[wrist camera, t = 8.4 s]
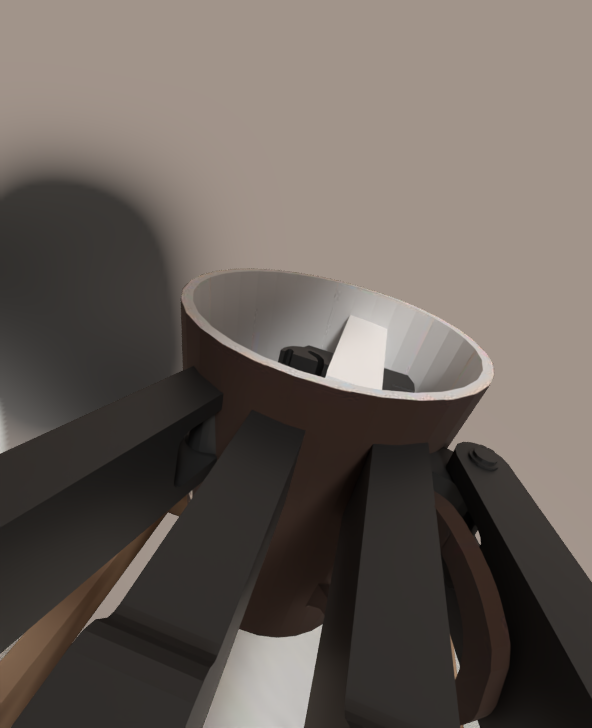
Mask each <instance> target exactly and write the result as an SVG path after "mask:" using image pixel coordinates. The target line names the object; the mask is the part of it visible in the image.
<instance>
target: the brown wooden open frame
mask: <svg viewBox="0 0 592 728" xmlns="http://www.w3.org/2000/svg"><path fill="white" fill-rule="evenodd" d="M186 506H187V495H186V496H185V497H184V498H183V499H181V500H180V501H179V502H178V503H177V504H175V505H174V506H173V507H172V508H171V509H170V510H168V511H167V512H166V513H165V514H164V515H163V516H161V517H160V518H159V519H158V520H157V521H156V522H154V523H153V524H152V525H151V526H150V527H148V528H147V529H146V530H145V531H144V532H143V533H141V534H140V535H139V536H138V537H137V538H136V539H134V540H133V541H132V542H131V543H130V544H128V545H127V546H126V547H125V548H124V549H123V550H121V551H120V552H119V553H118V554H117V555H116V556H114V557H113V558H112V559H111V560H110V561H108V562H107V563H106V564H105V565H104V566H103V567H101V568H100V569H99V570H98V571H97V572H96V573H94V574H93V575H92V576H91V577H90V578H88V579H87V580H86V581H85V582H84V583H83V584H81V585H80V586H79V587H78V588H77V589H76V590H74V591H73V592H72V593H71V594H70V595H69V596H67V597H66V598H65V599H64V600H63V601H61V602H60V603H59V604H58V605H57V606H56V607H54V608H53V609H52V610H51V611H50V612H49V613H47V614H46V615H45V616H44V617H43V618H41V619H40V620H39V621H38V622H37V623H36V624H34V625H33V626H32V627H31V628H30V629H29V630H27V631H26V632H25V633H24V635H23V636H22V637H21V638H20V639H19V640H18V642H17V643H16V644H15V645H14V646H13V647H12V649H11V650H10V651H9V652H8V653H7V654H6V656H5V657H4V658H3V659H2V660H1V661H0V728H10V727H11V726H12V725H13V723H14V722H15V721H16V719H17V718H18V716H19V715H20V714H21V712H22V711H23V710H24V708H25V707H26V705H27V704H28V703H29V701H30V700H31V699H32V697H33V696H34V695H35V693H36V692H37V690H38V689H39V688H40V686H41V685H42V684H43V682H44V681H45V679H46V678H47V677H48V675H49V674H50V673H51V671H52V670H53V668H54V667H55V666H56V664H57V663H58V662H59V660H60V659H61V657H62V656H63V655H64V653H65V652H66V651H67V649H68V648H69V647H70V645H71V644H72V643H73V641H74V640H75V638H76V637H77V636H78V634H79V633H80V631H81V630H82V628H84V626H85V625H86V623H87V622H88V620H89V619H90V618H91V617H92V615H93V614H94V613H95V611H96V610H97V608H98V607H99V605H100V604H101V603H102V601H103V600H104V599H105V597H106V596H107V595H108V593H109V592H110V591H111V589H112V588H113V586H114V585H115V584H116V582H117V581H118V580H119V578H120V577H121V575H122V574H123V573H124V571H125V570H126V569H127V567H128V566H129V564H130V563H131V562H132V560H133V559H134V558H135V556H136V555H137V553H138V552H139V551H140V550H141V548H142V547H143V545H144V544H145V543H146V541H147V540H148V539H149V537H150V536H151V535H152V533H153V532H154V530H155V529H156V527H157V526H158V525H159V524H160V522H161V521H162V520H163V518H164V517H165V515H166V514H167V513H168V512H169V513H171V514H174V515H177V516H180V515H181V513H182V512H183V511H184V509H185V508H186ZM450 640H451V649H452V658H453V667H454V676H455V679H456V676H457V670H456V661H455V653H454V646H453V643H452V639H451V636H450ZM460 728H464V727H463V725H461V726H460Z"/></svg>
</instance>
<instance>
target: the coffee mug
mask: <svg viewBox="0 0 592 728" xmlns="http://www.w3.org/2000/svg"><path fill="white" fill-rule="evenodd" d="M350 315H352V316H355V317H358V318H361V319H364V320H366V321H369V322H372V323H374V324H376V325H379V326H381V327H384V328H386V329H387V340H386V351H385V362H384V368H386V369H389V370H393V371H396V372H399V373H402V374H405V375H408V376H409V377H410V379H411V380H412V381H413V383H414V386H415V393H410V392H400V391H389V390H378V389H373V388H367V387H362V386H357V385H352V384H347V383H342V382H337V381H334V380H330V379H327V378H323V377H320V376H316V375H313V374H309V373H306V372H302V371H299V370H296V369H294V368H291V367H289V366H286V365H283V364H281V363H278V359H279V355H280V351H281V349H283V348H284V347H288V346H301V347H305V346H308V345H310V346H313V347H316V348H319V349H322V350H326V351H329V352H332V353H335V350H336V348H337V345H338V343H339V341H340V338H341V336H342V333H343V331H344V328H345V326H346V324H347V321H348V319H349V316H350ZM181 323H182V351H183V352H182V353H183V370H185V369H187V368H189V367H192V366H194V367H195V368H196V369H197V371H198V372H199V373H200V374H201V375H202V376H203V377H204V378H205V379H206V380H208V381H209V382H210V383H211V384H212V385H213V386H215V387H216V388H217V389H218V390H219V391H221V392H222V393H223V403H222V410H220V411H219V412H217V413H216V414H215V440H216V454H215V455H216V456H217V460H218V459H219V458H220V456H221V455H222V453H223V452H224V450H225V449H226V447H227V446H228V444H229V443H230V441H231V440H232V438H233V437H234V435H235V434H236V433H237V431H238V430H239V428H240V427H241V425H242V424H243V422H244V421H245V419H246V418H247V416H248V415H249V413H250V412H251V410H254V411H256V412H258V413H261V414H263V415H265V416H268V417H270V418H272V419H274V420H277V421H279V422H281V423H283V424H286V425H289V426H292V427H296V428H299V429H302V430H305V431H306V432H305V435H304V439H303V442H302V445H301V449H300V452H299V456H298V459H297V463H296V466H295V469H294V473H293V476H292V480H291V483H290V487H289V490H288V493H287V497H286V500H285V504H284V507H283V510H282V512H281V515H280V518H279V520H278V523H277V526H276V529H275V531H274V534H273V537H272V540H271V542H270V545H269V548H268V550H267V553H266V556H265V559H264V561H263V564H262V567H261V570H260V572H259V575H258V578H257V580H256V583H255V586H254V589H253V591H252V594H251V597H250V599H249V602H248V605H247V608H246V610H245V613H244V616H243V619H242V621H241V624H240V627H239V629H241V630H244V631H247V632H250V633H253V634H256V635H260V636H268V637H276V638H277V637H289V636H296V635H299V634H303V633H306V632H309V631H312V630H313V629H315V628H317V627H318V626H320V625H322V624H323V620H324V615H325V609H326V604H327V598H328V593H329V587H330V582H331V576H332V571H333V565H334V560H335V554H336V549H337V543H338V538H339V532H340V527H341V521H342V516H343V513H344V511H345V509H346V506H347V504H348V502H349V500H350V498H351V496H352V494H353V491H354V489H355V486H356V484H357V481H358V479H359V476H360V474H361V471H362V469H363V466H364V464H365V462H366V459H367V457H368V455H369V452H370V450H371V448H372V445H373V444H385V445H406V444H416V443H427V442H428V444H429V453H433V452H436V451H439V450H440V449H442V448H443V447H445V448H448V446H449V445H450V443H451V442H452V440H453V439H454V437H455V436H456V434H457V433H458V431H459V430H460V429H461V427H462V426H463V424H464V423H465V421H466V420H467V418H468V417H469V415H470V414H471V412H472V411H473V409H474V408H475V406H476V405H477V403H478V402H479V400H480V399H481V397H482V396H483V394H484V393H485V392H486V390H487V389H488V387H489V386H490V384H491V382H492V380H493V378H494V375H495V373H494V368H493V363H492V361H491V360H490V358H489V357H488V355H487V354H486V352H485V351H484V350H483V349H482V348H481V347H480V346H479V345H478V344H477V343H476V342H475V341H474V340H472V339H471V338H470V337H468V336H467V335H466V334H464V333H463V332H461V331H460V330H459V329H457V328H456V327H454V326H452V325H451V324H449V323H447V322H446V321H444V320H442V319H440V318H438V317H436V316H434V315H432V314H430V313H428V312H426V311H424V310H422V309H420V308H418V307H415V306H413V305H411V304H408V303H406V302H404V301H401V300H398V299H396V298H393V297H390V296H387V295H385V294H382V293H379V292H375V291H373V290H370V289H366V288H363V287H360V286H356V285H352V284H349V283H345V282H341V281H337V280H333V279H328V278H324V277H319V276H314V275H308V274H302V273H297V272H289V271H280V270H267V269H230V270H221V271H215V272H211V273H206V274H202V275H200V276H198V277H196V278H194V279H192V280H190V281H189V282H188V283H187V284H186V285H185V287H184V288H183V289H182V296H181ZM202 483H203V482H201V483H200V484H199V485H198V486H197V487H195V488H194V489H193V490H192V491H191V492H190V493H188V494H187V505H188V503H189V502H190V500H191V499H192V497H193V496H194V494H195V493H196V491H197V490H198V488H199V487H200V486H201V484H202ZM434 498H435V506H434V507H435V508H436V515H437V524H438V533H439V542H440V551H441V554H442V556H443V558H444V560H445V562H446V564H447V567H448V570H449V573H450V576H451V579H452V582H453V586H454V589H455V593H456V596H457V600H458V605H459V609H460V614H461V619H462V627H463V652H462V658H461V664H460V670H459V672H458V674H457V676H456V679H455V685H456V694H457V703H458V712H459V721H460V726H461V725H464V724H467V723H470V722H473V721H476V720H478V719H481V718H484V717H486V716H488V715H489V714H491V713H492V711H493V710H494V709H495V707H496V706H497V703H498V699H499V696H500V693H501V690H502V687H503V684H504V681H505V678H506V675H507V672H508V669H509V663H510V639H509V633H508V627H507V623H506V620H505V615H504V611H503V607H502V603H501V599H500V596H499V593H498V590H497V587H496V584H495V581H494V579H493V576H492V574H491V571H490V569H489V567H488V565H487V563H486V560H485V558H484V556H483V554H482V552H481V550H480V548H479V546H478V544H477V542H476V540H475V539H474V537H473V535H472V534H471V532H470V530H469V529H468V526H467V525H466V523H465V522H464V520H463V518H462V517H461V516H460V514H459V513H458V512H457V510H456V509H455V508H454V506H453V505H452V504H451V503H450V502H449V501H448V500H446V499H445V498H444V497H443V496H441V495H440V494H438V493H436V492H435V491H434Z"/></svg>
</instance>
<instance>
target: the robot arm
mask: <svg viewBox="0 0 592 728" xmlns="http://www.w3.org/2000/svg"><path fill="white" fill-rule="evenodd" d="M386 340H387V329H386V328H384V327H381V326H379V325H376V324H374V323H372V322H369V321H366V320H364V319H361V318H358V317H355V316H352V315H350V316H349V319H348V321H347V324H346V326H345V328H344V331H343V333H342V336H341V338H340V341H339V343H338V345H337V348H336V350H335V353H332V352H329V351H326V350H322V349H319V348H316V347H313V346H310V345H308V346H305V347H301V346H288V347H284V348H283V349H281V351H280V355H279V359H278V363H281V364H283V365H286V366H289V367H291V368H294V369H296V370H299V371H302V372H306V373H309V374H313V375H316V376H320V377H323V378H327V379H330V380H334V381H337V382H342V383H347V384H352V385H357V386H362V387H367V388H373V389H378V390H389V391H400V392H410V393H415V386H414V383H413V381H412V380H411V379H410V377H409V376H408V375H405V374H402V373H399V372H396V371H393V370H389V369H386V368H384V362H385V351H386ZM222 403H223V393H222V392H221V391H219V390H218V389H217V388H216V387H215V386H213V385H212V384H211V383H210V382H209V381H208V380H206V379H205V378H204V377H203V376H202V375H201V374H200V373H199V372H198V371H197V369H196V368H195V367H194V366H192V367H189V368H187V369H185V370H183V371H181V372H179V373H176V374H174V375H172V376H170V377H168V378H165V379H163V380H161V381H159V382H157V383H154V384H152V385H150V386H148V387H146V388H143V389H141V390H139V391H137V392H135V393H133V394H130V395H128V396H126V397H124V398H122V399H119V400H117V401H115V402H113V403H111V404H108V405H106V406H104V407H102V408H100V409H97V410H95V411H93V412H91V413H89V414H86V415H84V416H82V417H80V418H78V419H76V420H73V421H71V422H69V423H67V424H65V425H62V426H60V427H58V428H56V429H54V430H51V431H49V432H47V433H45V434H43V435H41V436H38V437H36V438H34V439H32V440H30V441H27V442H25V443H23V444H21V445H19V446H16V447H14V448H12V449H10V450H8V451H5V452H3V453H1V454H0V653H1V652H3V651H4V650H5V649H6V648H7V647H9V646H10V645H11V644H12V643H13V642H14V641H16V640H17V639H18V638H19V637H20V636H21V635H23V634H24V633H25V632H26V631H27V630H29V629H30V628H31V627H32V626H33V625H34V624H36V623H37V622H38V621H39V620H40V619H41V618H43V617H44V616H45V615H46V614H47V613H49V612H50V611H51V610H52V609H53V608H54V607H56V606H57V605H58V604H59V603H60V602H61V601H63V600H64V599H65V598H66V597H67V596H69V595H70V594H71V593H72V592H73V591H74V590H76V589H77V588H78V587H79V586H80V585H81V584H83V583H84V582H85V581H86V580H87V579H88V578H90V577H91V576H92V575H93V574H94V573H96V572H97V571H98V570H99V569H100V568H101V567H103V566H104V565H105V564H106V563H107V562H108V561H110V560H111V559H112V558H113V557H114V556H116V555H117V554H118V553H119V552H120V551H121V550H123V549H124V548H125V547H126V546H127V545H128V544H130V543H131V542H132V541H133V540H134V539H136V538H137V537H138V536H139V535H140V534H141V533H143V532H144V531H145V530H146V529H147V528H148V527H150V526H151V525H152V524H153V523H154V522H156V521H157V520H158V519H159V518H160V517H161V516H163V515H164V514H165V513H166V512H167V511H168V510H170V509H171V508H172V507H173V506H174V505H175V504H177V503H178V502H179V501H180V500H181V499H183V498H184V497H185V496H186V495H187V494H188V493H190V492H191V491H192V490H193V489H194V488H195V487H197V486H198V485H199V484H200V483H201V482H203V483H202V484H201V486H200V487H199V488H198V490H197V491H196V493H195V494H194V496H193V497H192V499H191V500H190V502H189V503H188V505H187V506H186V508H185V509H184V511H183V512H182V513H181V515H180V516H179V518H178V519H177V521H176V522H175V524H174V525H173V527H172V528H171V530H170V531H169V533H168V534H167V536H166V537H165V539H164V540H163V541H162V543H161V544H160V546H159V547H158V549H157V550H156V552H155V553H154V555H153V556H152V558H151V559H150V561H149V562H148V564H147V565H146V567H145V568H144V570H143V571H142V572H141V574H140V575H139V577H138V578H137V580H136V581H135V583H134V584H133V586H132V587H131V589H130V590H129V591H128V593H127V595H126V596H125V597H124V599H123V601H122V602H121V603H120V605H119V606H118V607H117V608H116V610H115V611H114V612H113V613H112V614H111V615H110V616H109V617H108V618H102V619H96V620H94V621H93V622H92V623H91V624H90V625H88V626H87V627H86V628H85V629H84V630H83V631H82V632H81V633H80V635H79V636H78V637H77V638H76V639H75V641H74V642H73V643H72V644H71V645H70V647H69V648H68V649H67V651H66V652H65V653H64V655H63V656H62V657H61V659H60V660H59V662H58V663H57V664H56V666H55V667H54V668H53V670H52V671H51V673H50V674H49V675H48V677H47V678H46V679H45V681H44V682H43V684H42V685H41V686H40V688H39V689H38V690H37V692H36V693H35V695H34V696H33V697H32V699H31V700H30V701H29V703H28V704H27V706H26V707H25V708H24V710H23V711H22V712H21V714H20V715H19V717H18V718H17V719H16V721H15V722H14V723H13V725H12V726H11V728H203V725H204V722H205V719H206V717H207V714H208V711H209V708H210V706H211V703H212V700H213V698H214V695H215V692H216V689H217V687H218V684H219V681H220V678H221V676H222V673H223V670H224V668H225V665H226V662H227V659H228V657H229V654H230V651H231V649H232V646H233V643H234V640H235V638H236V635H237V632H238V629H239V627H240V624H241V621H242V619H243V616H244V613H245V610H246V608H247V605H248V602H249V599H250V597H251V594H252V591H253V589H254V586H255V583H256V580H257V578H258V575H259V572H260V570H261V567H262V564H263V561H264V559H265V556H266V553H267V550H268V548H269V545H270V542H271V540H272V537H273V534H274V531H275V529H276V526H277V523H278V520H279V518H280V515H281V512H282V510H283V507H284V504H285V500H286V497H287V493H288V490H289V487H290V483H291V480H292V476H293V473H294V469H295V466H296V463H297V459H298V456H299V452H300V449H301V445H302V442H303V439H304V435H305V432H306V431H305V430H302V429H299V428H296V427H292V426H289V425H286V424H283V423H281V422H279V421H277V420H274V419H272V418H270V417H268V416H265V415H263V414H261V413H258V412H256V411H254V410H251V412H250V413H249V415H248V416H247V418H246V419H245V421H244V422H243V424H242V425H241V427H240V428H239V430H238V431H237V433H236V434H235V435H234V437H233V438H232V440H231V441H230V443H229V444H228V446H227V447H226V449H225V450H224V452H223V453H222V455H221V456H220V458H219V459H218V460H217V456H216V455H215V454H216V440H215V414H216V413H217V412H219V411H220V410H222ZM434 491H435V492H436V493H438V494H440V495H441V496H443V497H444V498H445V499H446V500H448V501H449V502H450V503H451V504H452V505H453V506H454V508H455V509H456V510H457V512H458V513H459V514H460V516H461V517H462V518H463V520H464V522H465V523H466V525H467V526H468V529H469V530H470V532H471V534H472V535H473V537H474V539H475V540H476V542H477V544H478V546H479V548H480V550H481V552H482V554H483V556H484V558H485V560H486V563H487V565H488V567H489V569H490V571H491V574H492V576H493V579H494V581H495V584H496V587H497V590H498V593H499V596H500V599H501V603H502V607H503V611H504V615H505V620H506V623H507V627H508V633H509V639H510V663H509V669H508V672H507V675H506V678H505V681H504V684H503V687H502V690H501V693H500V696H499V699H498V703H497V706H496V707H495V709H494V710H493V711H492V713H491V714H489V715H488V716H486V717H484V718H481V719H478V723H479V726H480V728H592V582H591V581H590V579H589V578H588V577H587V575H586V574H585V572H584V571H583V569H582V568H581V567H580V565H579V564H578V562H577V561H576V559H575V558H574V557H573V555H572V554H571V552H570V551H569V550H568V548H567V547H566V545H565V544H564V542H563V541H562V540H561V538H560V537H559V535H558V534H557V533H556V531H555V530H554V528H553V527H552V526H551V524H550V523H549V521H548V520H547V518H546V517H545V516H544V514H543V513H542V511H541V510H540V509H539V508H538V506H537V505H536V503H535V502H534V500H533V499H532V497H531V496H530V494H529V493H528V492H527V490H526V489H525V487H524V486H523V485H522V483H521V482H520V480H519V479H518V478H517V476H516V475H515V474H514V472H513V470H512V469H511V468H510V466H509V465H508V464H507V463H506V462H505V461H504V460H503V458H502V457H500V456H499V455H497V454H496V453H495V452H494V451H493V450H491V449H489V448H486V447H485V446H483V445H478V444H475V443H471V442H462V443H459V444H457V446H456V448H455V450H454V452H453V451H451V450H449V449H447V448H445V447H443V448H442V449H440V450H439V451H436V452H433V453H429V444H428V442H427V443H416V444H406V445H385V444H373V445H372V448H371V450H370V452H369V455H368V457H367V459H366V462H365V464H364V466H363V469H362V471H361V474H360V476H359V479H358V481H357V484H356V486H355V489H354V491H353V494H352V496H351V498H350V500H349V502H348V504H347V506H346V509H345V511H344V513H343V516H342V521H341V527H340V532H339V538H338V543H337V549H336V554H335V560H334V565H333V571H332V576H331V582H330V587H329V593H328V598H327V604H326V609H325V615H324V620H323V626H322V631H321V637H320V642H319V648H318V653H317V659H316V665H315V670H314V676H313V681H312V687H311V692H310V698H309V703H308V709H307V714H306V720H305V725H304V728H460V721H459V712H458V703H457V694H456V685H455V676H454V667H453V658H452V649H451V640H450V636H451V639H452V643H453V646H454V649H455V652H456V655H457V658H458V661H459V664H461V658H462V652H463V627H462V619H461V614H460V609H459V605H458V600H457V596H456V593H455V589H454V586H453V582H452V579H451V576H450V573H449V570H448V567H447V564H446V562H445V560H444V558H443V556H442V554H441V551H440V542H439V533H438V524H437V515H436V508H435V507H434V506H435V498H434ZM477 531H479V534H480V537H481V545H480V544H479V543H478V541H477V539H476V537H475V534H476V532H477Z"/></svg>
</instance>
